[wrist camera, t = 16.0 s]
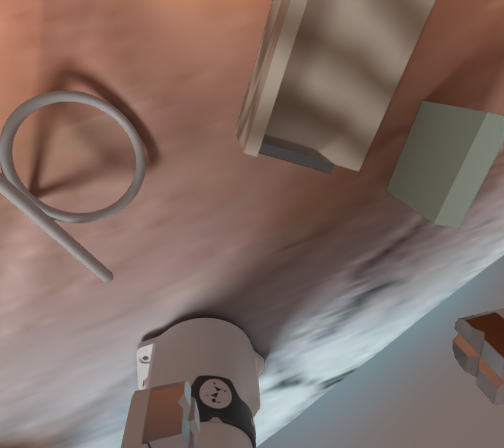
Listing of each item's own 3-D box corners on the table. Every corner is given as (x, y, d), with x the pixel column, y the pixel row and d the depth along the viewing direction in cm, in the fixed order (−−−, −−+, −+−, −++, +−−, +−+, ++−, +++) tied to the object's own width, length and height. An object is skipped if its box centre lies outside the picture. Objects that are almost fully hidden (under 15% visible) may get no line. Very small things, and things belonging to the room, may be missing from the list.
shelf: (353, 168, 41) (392, 195, 33) (234, 132, 38) (243, 153, 29) (437, -22, 34) (516, -51, 25) (298, -89, 30) (336, -149, 21)
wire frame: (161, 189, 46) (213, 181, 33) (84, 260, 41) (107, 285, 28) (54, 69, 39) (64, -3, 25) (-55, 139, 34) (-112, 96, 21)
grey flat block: (444, 106, 39) (515, 119, 30) (406, 194, 44) (458, 228, 35) (422, 100, 39) (487, 111, 30) (385, 190, 43) (433, 224, 34)
